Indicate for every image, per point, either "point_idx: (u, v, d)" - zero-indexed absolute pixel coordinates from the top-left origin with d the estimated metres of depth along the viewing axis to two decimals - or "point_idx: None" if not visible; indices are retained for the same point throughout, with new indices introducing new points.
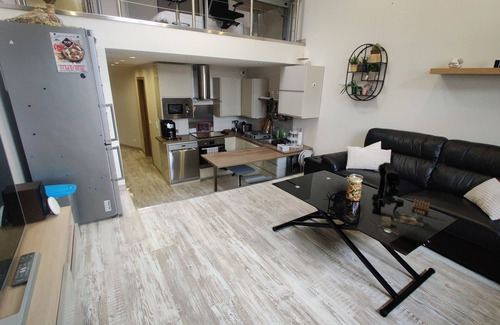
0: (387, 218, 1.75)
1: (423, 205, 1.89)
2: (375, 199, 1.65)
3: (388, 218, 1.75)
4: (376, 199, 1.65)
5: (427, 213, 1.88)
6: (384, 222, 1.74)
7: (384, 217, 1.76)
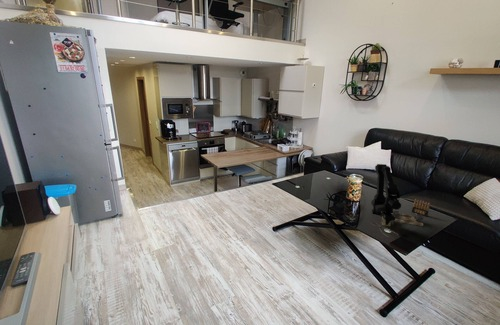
0: None
1: (423, 205, 1.89)
2: None
3: None
4: None
5: (427, 213, 1.88)
6: (384, 222, 1.74)
7: None
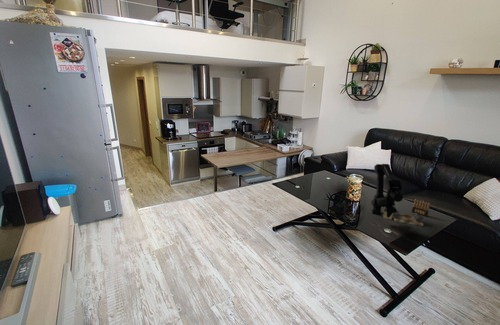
0: None
1: (423, 205, 1.89)
2: None
3: None
4: None
5: (427, 213, 1.88)
6: (385, 215, 1.73)
7: (385, 210, 1.75)
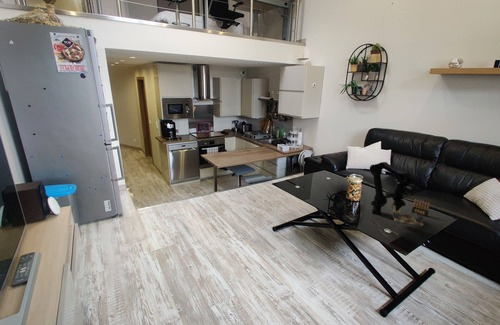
0: None
1: (423, 205, 1.89)
2: None
3: None
4: None
5: (427, 213, 1.88)
6: (394, 208, 1.74)
7: None
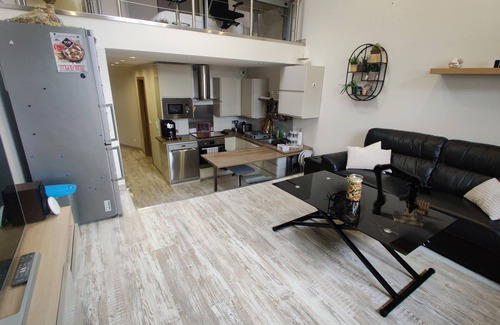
0: None
1: (423, 205, 1.89)
2: None
3: None
4: None
5: (427, 213, 1.88)
6: (407, 211, 1.78)
7: (407, 206, 1.80)
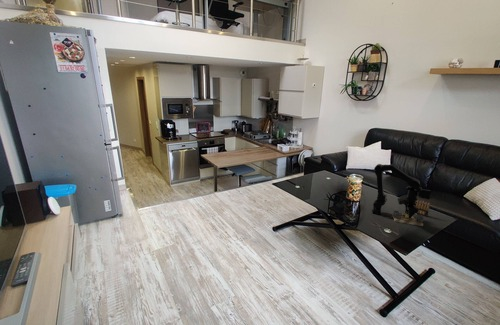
0: None
1: (423, 205, 1.89)
2: None
3: None
4: None
5: (427, 213, 1.88)
6: (406, 217, 1.79)
7: (406, 212, 1.81)
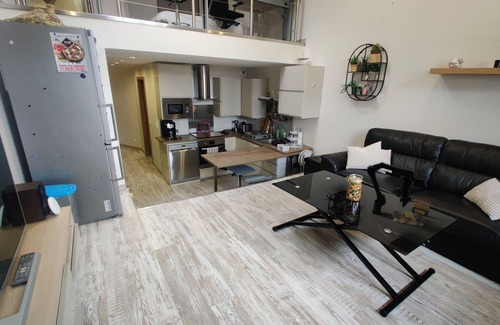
0: (409, 213, 1.80)
1: (423, 205, 1.89)
2: None
3: (410, 213, 1.80)
4: None
5: (427, 213, 1.88)
6: (406, 217, 1.79)
7: (406, 212, 1.81)
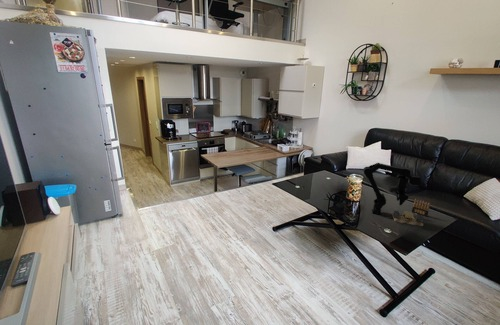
0: (409, 213, 1.80)
1: (423, 205, 1.89)
2: None
3: (410, 213, 1.80)
4: None
5: (427, 213, 1.88)
6: (406, 217, 1.79)
7: (406, 212, 1.81)
